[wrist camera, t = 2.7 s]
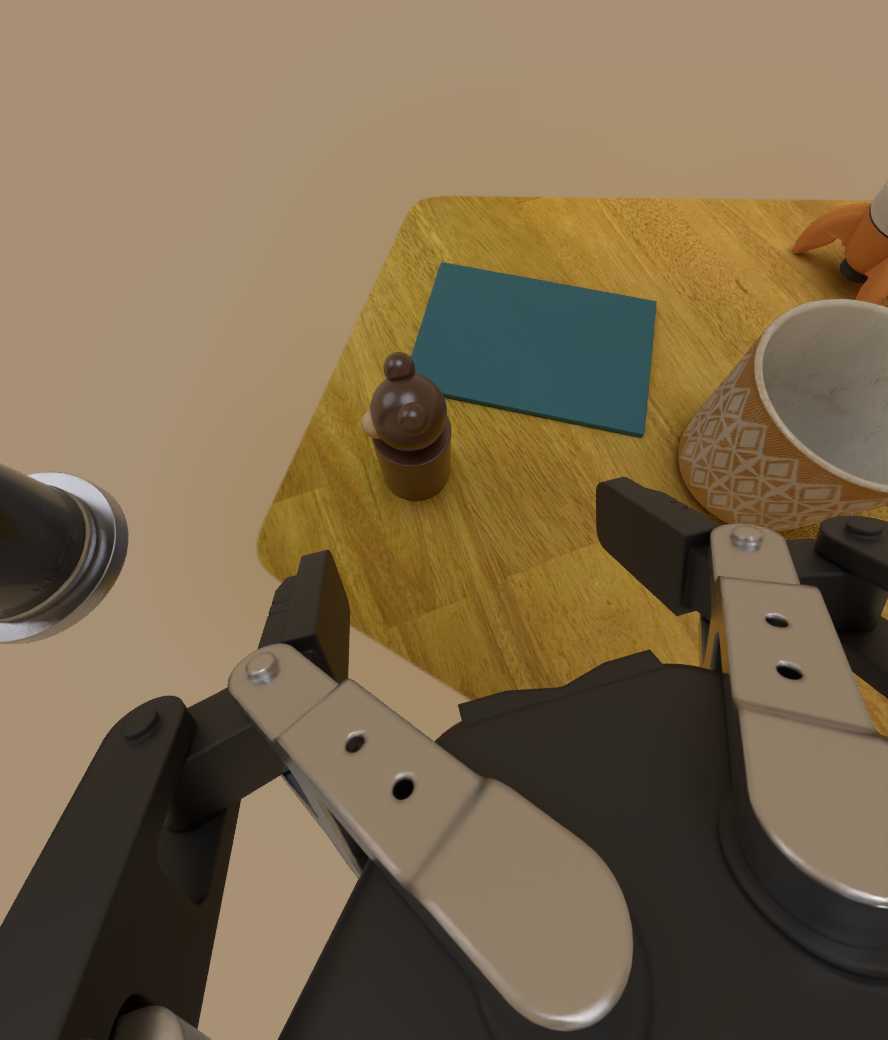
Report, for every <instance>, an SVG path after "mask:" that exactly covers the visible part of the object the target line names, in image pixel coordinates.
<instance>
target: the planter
mask: <svg viewBox="0 0 888 1040" xmlns="http://www.w3.org/2000/svg"><path fill="white" fill-rule="evenodd" d="M678 462H679V467H680V471H681V475H682V477H683V480H684V482H685V484H686V486H687V488H688V489H689V491H690V492H691V494H692V495H693V496H694V498H695V499H696V500H697V501H698V502H699V503H700V504H701V505H702V506H703V507H704V508H705V509H706V510H707V511H708V512H710V513H711V514H712V515H714V516H715V517H717V518H718V519H720V520H722V521H724V522H726V523H728V524H734V523H744V524H753V525H758V526H762V527H765V528H768V529H771V530H773V531H775V532H783V531H788V530H792V529H796V528H800V527H804V526H808V525H812V524H816V523H820V522H823V521H824V520H826V519H828V518H831V517H836V516H848V515H852V514H856V513H860V512H864V511H867V510H871V509H875V508H879V507H883V506H887V505H888V307H885V306H882V305H878V304H874V303H870V302H865V301H859V300H850V299H827V300H819V301H813V302H809V303H805V304H802V305H799V306H797V307H794V308H792V309H790V310H788V311H786V312H785V313H783V314H782V315H780V316H779V317H778V318H776V319H775V320H774V321H773V322H772V323H771V324H770V325H769V326H768V328H767V329H766V330H765V331H764V332H763V334H762V335H761V336H760V337H759V338H758V340H757V341H756V342H755V343H754V344H753V346H752V347H751V348H750V349H749V350H748V352H747V353H746V354H745V355H744V356H743V358H742V359H741V360H740V361H739V362H738V364H737V365H736V366H735V367H734V368H733V370H732V371H731V372H730V373H729V375H728V376H727V377H726V378H725V379H724V381H723V382H722V383H721V384H720V385H719V387H718V388H717V389H716V390H715V391H714V393H713V394H712V395H711V396H710V397H709V399H708V400H707V401H706V402H705V403H704V405H703V406H702V407H701V408H700V409H699V411H698V412H697V413H696V414H695V415H694V417H693V418H692V419H691V420H690V422H689V423H688V424H687V426H686V428H685V429H684V431H683V433H682V436H681V439H680V442H679V449H678Z"/></svg>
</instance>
